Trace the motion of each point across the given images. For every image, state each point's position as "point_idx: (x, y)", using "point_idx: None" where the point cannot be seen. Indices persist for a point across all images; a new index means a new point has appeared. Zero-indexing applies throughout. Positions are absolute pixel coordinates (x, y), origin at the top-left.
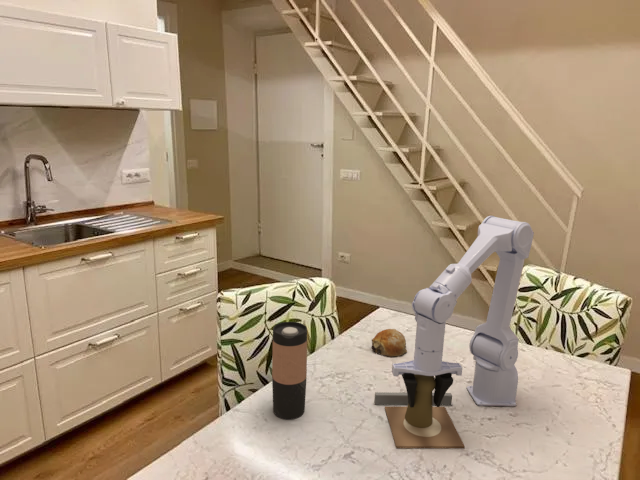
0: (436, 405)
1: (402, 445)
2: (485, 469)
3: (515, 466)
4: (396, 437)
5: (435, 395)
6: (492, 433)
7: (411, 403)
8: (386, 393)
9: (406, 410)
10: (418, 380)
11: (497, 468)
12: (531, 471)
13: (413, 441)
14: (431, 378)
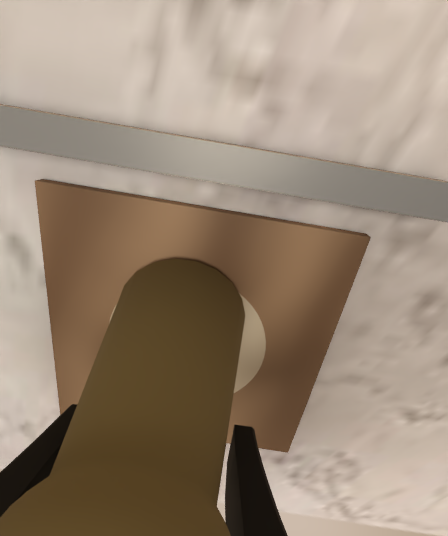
0: (227, 468)
1: None
2: (293, 502)
3: (382, 509)
4: (67, 385)
5: (232, 497)
6: (441, 407)
7: None
8: (6, 121)
9: (116, 305)
10: None
11: (328, 505)
12: (408, 524)
13: None
14: None
